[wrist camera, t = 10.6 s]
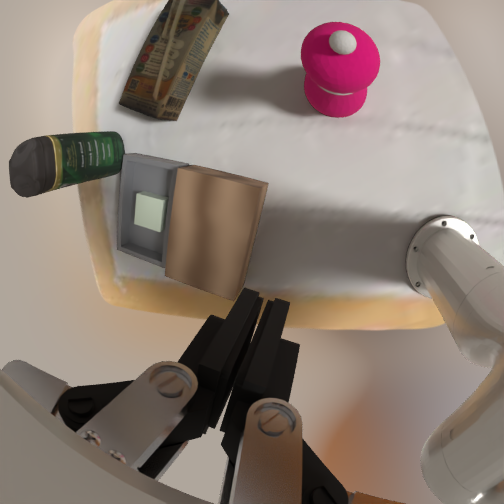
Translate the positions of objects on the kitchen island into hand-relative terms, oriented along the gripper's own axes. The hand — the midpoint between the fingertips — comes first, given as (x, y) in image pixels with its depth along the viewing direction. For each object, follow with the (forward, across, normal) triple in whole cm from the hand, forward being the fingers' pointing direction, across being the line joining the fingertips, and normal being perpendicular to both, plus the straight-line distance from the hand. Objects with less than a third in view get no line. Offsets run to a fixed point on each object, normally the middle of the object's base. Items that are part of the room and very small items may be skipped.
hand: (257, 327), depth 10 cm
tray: (+29, +22, +8) cm, 38 cm away
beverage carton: (+30, +22, -16) cm, 40 cm away
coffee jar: (+29, +34, +1) cm, 45 cm away
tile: (+26, +22, +8) cm, 35 cm away
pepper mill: (+29, 0, -14) cm, 32 cm away
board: (+29, +11, +8) cm, 32 cm away
